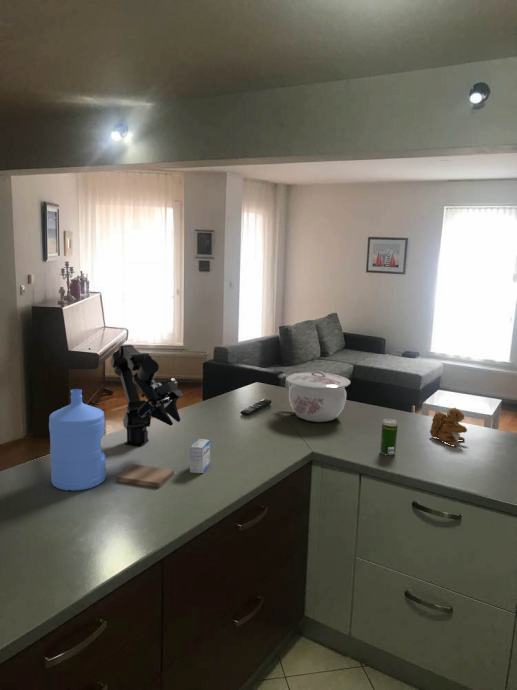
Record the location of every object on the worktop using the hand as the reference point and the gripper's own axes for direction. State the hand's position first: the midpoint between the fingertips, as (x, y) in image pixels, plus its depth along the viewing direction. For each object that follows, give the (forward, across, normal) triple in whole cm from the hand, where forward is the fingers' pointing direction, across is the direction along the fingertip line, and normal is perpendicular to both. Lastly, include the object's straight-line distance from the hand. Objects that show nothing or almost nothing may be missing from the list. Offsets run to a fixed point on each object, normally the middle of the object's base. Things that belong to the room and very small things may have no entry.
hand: (175, 423), depth 175 cm
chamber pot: (+28, +68, -10) cm, 74 cm away
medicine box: (+17, -3, +1) cm, 17 cm away
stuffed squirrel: (+65, +66, -47) cm, 104 cm away
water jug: (-2, -28, +20) cm, 35 cm away
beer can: (+53, +41, -35) cm, 76 cm away
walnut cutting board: (+9, -17, +8) cm, 21 cm away
